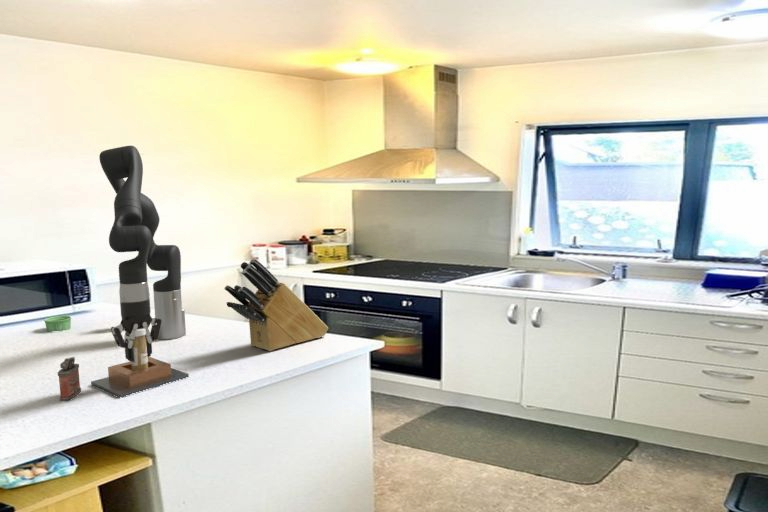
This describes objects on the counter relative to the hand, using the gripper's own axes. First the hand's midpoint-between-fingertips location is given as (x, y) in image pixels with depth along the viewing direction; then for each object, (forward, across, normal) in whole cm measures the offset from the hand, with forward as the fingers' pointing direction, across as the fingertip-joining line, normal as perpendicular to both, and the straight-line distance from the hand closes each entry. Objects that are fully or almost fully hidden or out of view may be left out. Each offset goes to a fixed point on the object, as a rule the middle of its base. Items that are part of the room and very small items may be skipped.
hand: (139, 358), depth 161 cm
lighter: (+7, +17, -4) cm, 19 cm away
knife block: (+7, -48, +3) cm, 49 cm away
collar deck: (+7, 0, 0) cm, 7 cm away
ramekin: (+7, -11, -82) cm, 83 cm away
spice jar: (+5, 0, 0) cm, 5 cm away
